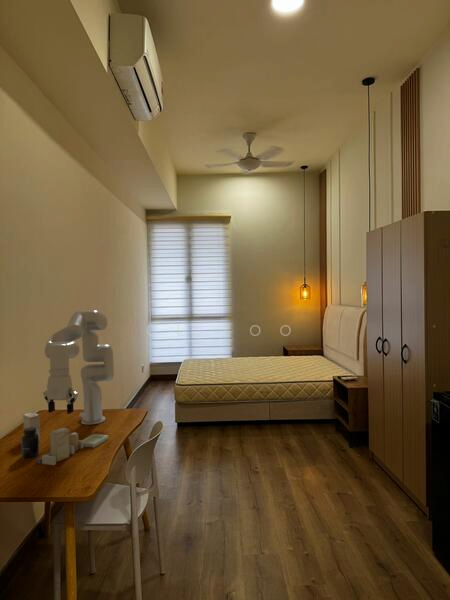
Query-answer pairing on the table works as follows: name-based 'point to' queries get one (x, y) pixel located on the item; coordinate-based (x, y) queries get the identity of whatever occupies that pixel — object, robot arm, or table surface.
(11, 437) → the table surface
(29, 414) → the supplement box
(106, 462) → the table surface
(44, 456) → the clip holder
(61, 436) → the skincare box
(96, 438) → the tray
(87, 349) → the robot arm
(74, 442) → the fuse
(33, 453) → the supplement bottle
